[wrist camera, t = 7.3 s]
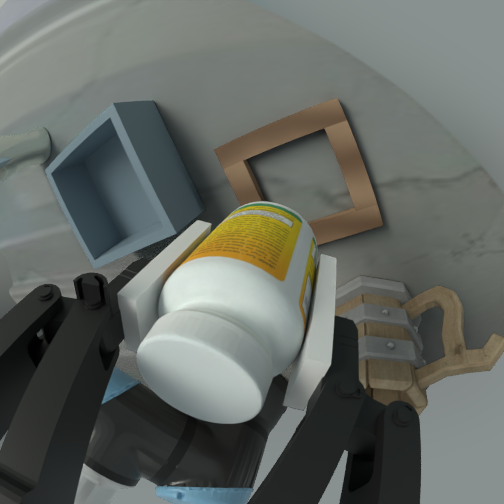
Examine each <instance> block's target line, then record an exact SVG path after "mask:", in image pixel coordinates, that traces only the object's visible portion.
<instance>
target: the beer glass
mask: <svg viewBox="0 0 504 504" xmlns="http://www.w3.org/2000/svg"><path fill="white" fill-rule="evenodd" d="M50 152H51V140H50V136H49V134H48V132H47V130H46V129H45V128H43V127H37V128H35V129H33V130H31V131H29V132H26V133H23V134H19V135H7V136H0V183H1V182H3V181H4V180H6V179H7V178H9V177H10V176H12V175H13V174H15V173H16V172H18V171H20V170H21V169H23V168H25V167H27V166H30V165H37V164H43V163H45V162H46V161H47V160H48V158H49V156H50Z"/></svg>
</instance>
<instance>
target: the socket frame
mask: <svg viewBox="0 0 504 504" xmlns="http://www.w3.org/2000/svg"><path fill="white" fill-rule="evenodd" d="M323 128H325V131H326V133H327V135H328V138H329V140H330V143H331V145H332V148H333V150H334V153H335V155H336V158H337V160H338V163H339V165H340V168H341V170H342V173H343V176H344V179H345V181H346V184H347V187H348V189H349V192H350V195H351V198H352V201H353V204H354V207H355V208H352V209H348V210H345V211H342V212H339V213H336V214H333V215H330V216H327V217H323V218H320V219H317V220H314V221H311V222H308V224H309V226H310V227H311V229H312V231H313V233H314V235H315V238H316V242H317V245H320V244H323V243H327V242H330V241H333V240H336V239H340V238H343V237H346V236H350V235H353V234H356V233H360V232H363V231H366V230H369V229H373V228H376V227H379V226H383V222H382V218H381V215H380V212H379V208H378V205H377V202H376V198H375V195H374V192H373V189H372V186H371V183H370V180H369V177H368V174H367V171H366V168H365V166H364V163H363V160H362V157H361V155H360V152H359V149H358V147H357V144H356V141H355V139H354V136H353V134H352V131H351V129H350V126H349V124H348V121H347V119H346V117H345V114H344V112H343V110H342V107H341V105H340V103H339V101H338V98H335V99H332V100H330V101H327V102H324V103H321V104H318V105H316V106H313V107H310V108H308V109H305V110H303V111H300V112H298V113H295V114H292V115H290V116H288V117H285V118H283V119H280V120H278V121H275V122H273V123H271V124H268V125H266V126H264V127H261V128H259V129H257V130H255V131H252V132H250V133H248V134H246V135H244V136H241V137H239V138H237V139H235V140H233V141H231V142H229V143H226V144H224V145H222V146H220V147H218V148H216V149H214V151H215V153H216V155H217V157H218V159H219V161H220V163H221V165H222V167H223V169H224V172H225V174H226V176H227V178H228V180H229V182H230V184H231V186H232V188H233V190H234V192H235V195H236V197H237V199H238V201H239V203H240V205H241V206H243V205H245V204H248V203H252V202H259V201H265V198H264V196H263V194H262V192H261V190H260V187H259V185H258V183H257V181H256V179H255V177H254V174H253V172H252V170H251V168H250V166H249V164H248V161H247V159H248V158H250V157H253V156H255V155H257V154H260V153H262V152H264V151H267V150H269V149H272V148H274V147H277V146H279V145H282V144H284V143H287V142H289V141H292V140H294V139H297V138H299V137H302V136H305V135H307V134H310V133H313V132H315V131H318V130H321V129H323Z"/></svg>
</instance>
